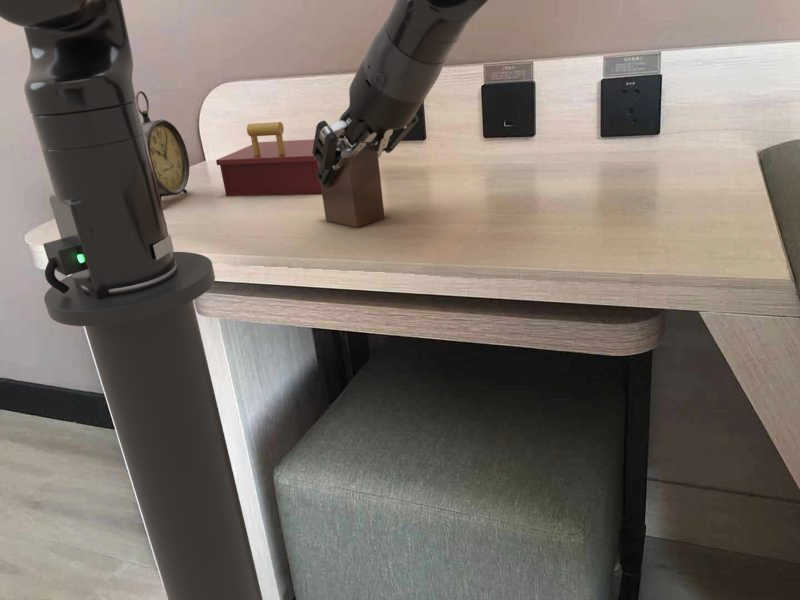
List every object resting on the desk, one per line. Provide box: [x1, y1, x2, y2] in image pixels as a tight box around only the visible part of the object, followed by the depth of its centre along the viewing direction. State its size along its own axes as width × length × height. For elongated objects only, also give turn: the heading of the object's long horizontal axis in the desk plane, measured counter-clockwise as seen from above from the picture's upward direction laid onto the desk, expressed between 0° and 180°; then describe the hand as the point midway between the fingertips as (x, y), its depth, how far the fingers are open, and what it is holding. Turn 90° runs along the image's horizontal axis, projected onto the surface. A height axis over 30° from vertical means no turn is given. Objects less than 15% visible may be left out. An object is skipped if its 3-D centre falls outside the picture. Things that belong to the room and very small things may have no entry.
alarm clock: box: [135, 90, 190, 202], centre depth 100 cm, size 11×5×16 cm, turn 170°
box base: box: [219, 160, 322, 197], centre depth 105 cm, size 13×16×5 cm
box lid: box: [215, 121, 347, 166], centre depth 103 cm, size 13×16×5 cm
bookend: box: [317, 140, 386, 228], centre depth 82 cm, size 4×6×9 cm
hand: (339, 176), depth 83 cm, fingers closed on bookend, 4 cm apart
